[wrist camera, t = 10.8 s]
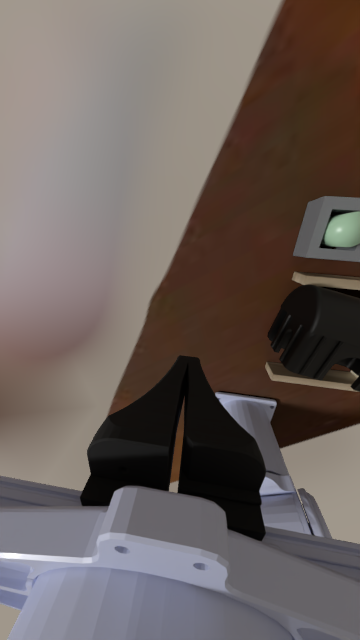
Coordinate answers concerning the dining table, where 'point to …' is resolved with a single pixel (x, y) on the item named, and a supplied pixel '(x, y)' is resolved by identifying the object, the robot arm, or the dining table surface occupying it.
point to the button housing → (316, 226)
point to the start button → (342, 230)
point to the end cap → (318, 332)
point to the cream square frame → (333, 376)
